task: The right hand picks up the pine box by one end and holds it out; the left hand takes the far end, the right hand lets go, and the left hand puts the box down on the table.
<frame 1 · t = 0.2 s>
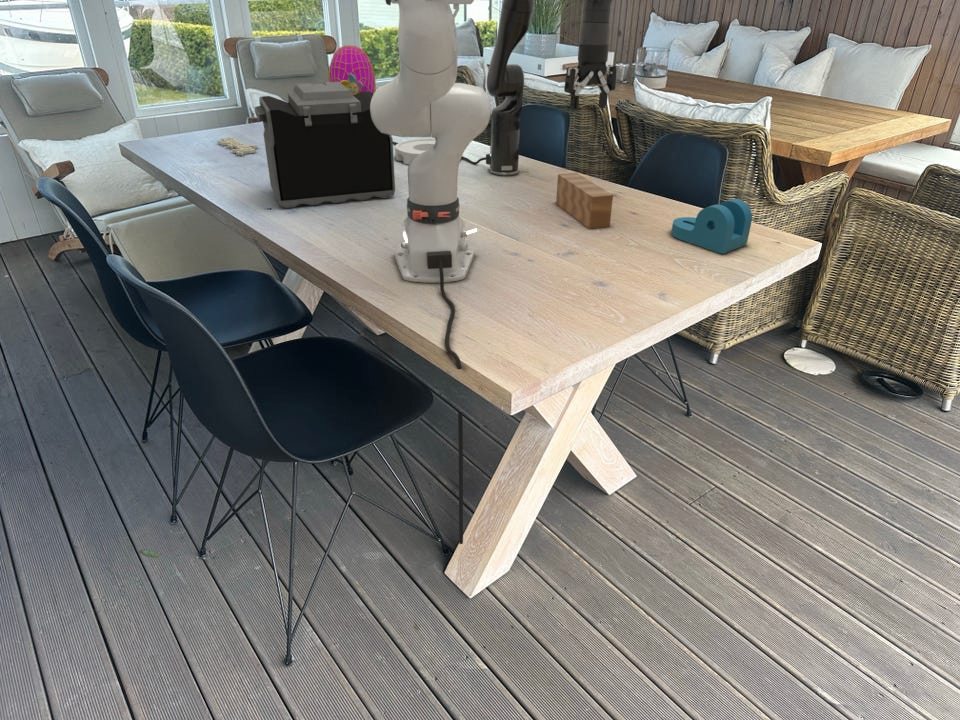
left hand: (432, 25, 166), 48 cm above the table, tool pointing down, fingers open, 8 cm apart
right hand: (588, 109, 181), 28 cm above the table, tool pointing down, fingers open, 8 cm apart
ashtray: (428, 158, 244), on the table
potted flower: (358, 143, 262), on the table
box: (581, 214, 192), on the table
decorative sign: (239, 147, 254), on the table
electronic device: (332, 193, 206), on the table
decorative egg: (355, 123, 293), on the table
camera mount: (703, 239, 176), on the table
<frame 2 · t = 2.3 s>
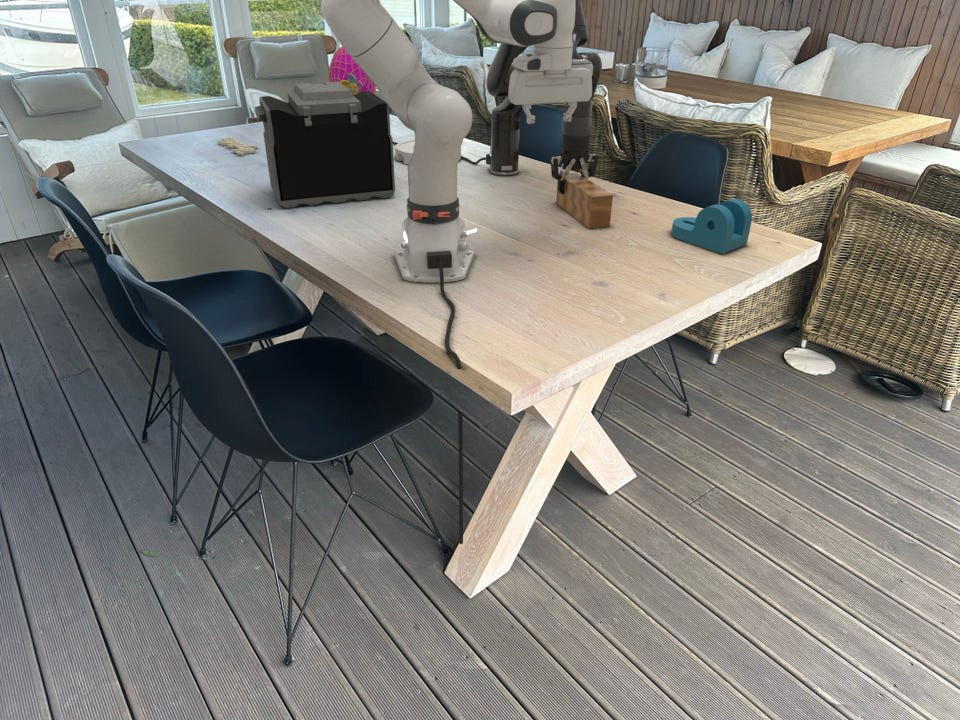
left hand: (548, 122, 165), 28 cm above the table, tool pointing down, fingers open, 8 cm apart
right hand: (571, 192, 196), 4 cm above the table, tool pointing down, fingers closed on box, 6 cm apart
box: (581, 214, 192), on the table, touching right hand
everything else where it was.
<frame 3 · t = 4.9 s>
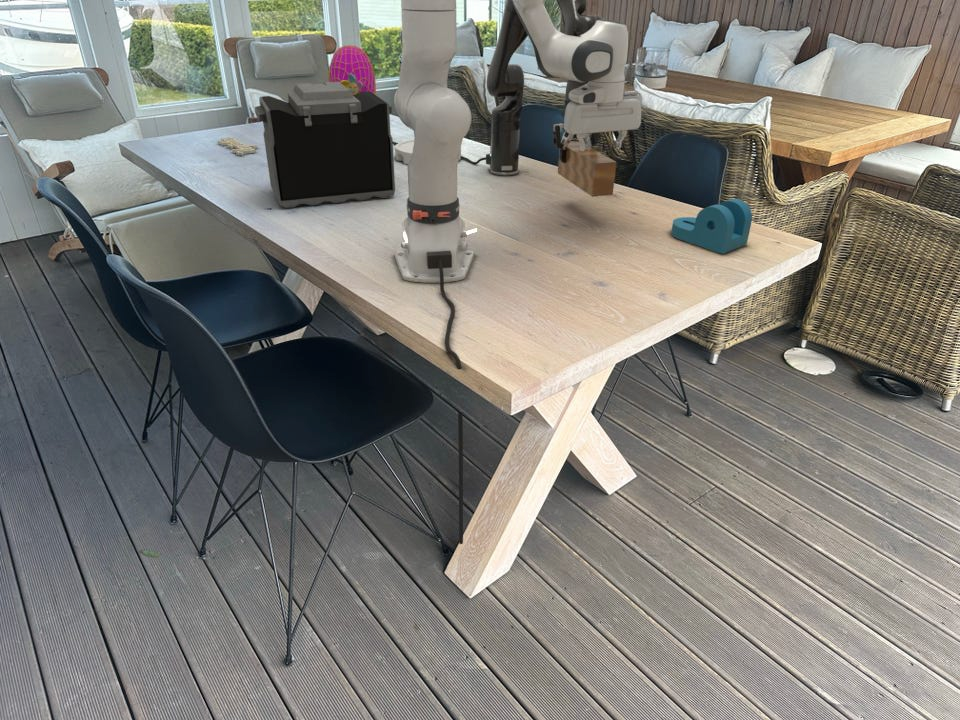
left hand: (600, 149, 176), 20 cm above the table, tool pointing down, fingers open, 8 cm apart
right hand: (574, 161, 192), 13 cm above the table, tool pointing down, fingers closed on box, 6 cm apart
box: (583, 183, 188), point 9 cm above the table, touching right hand
everything else where it was.
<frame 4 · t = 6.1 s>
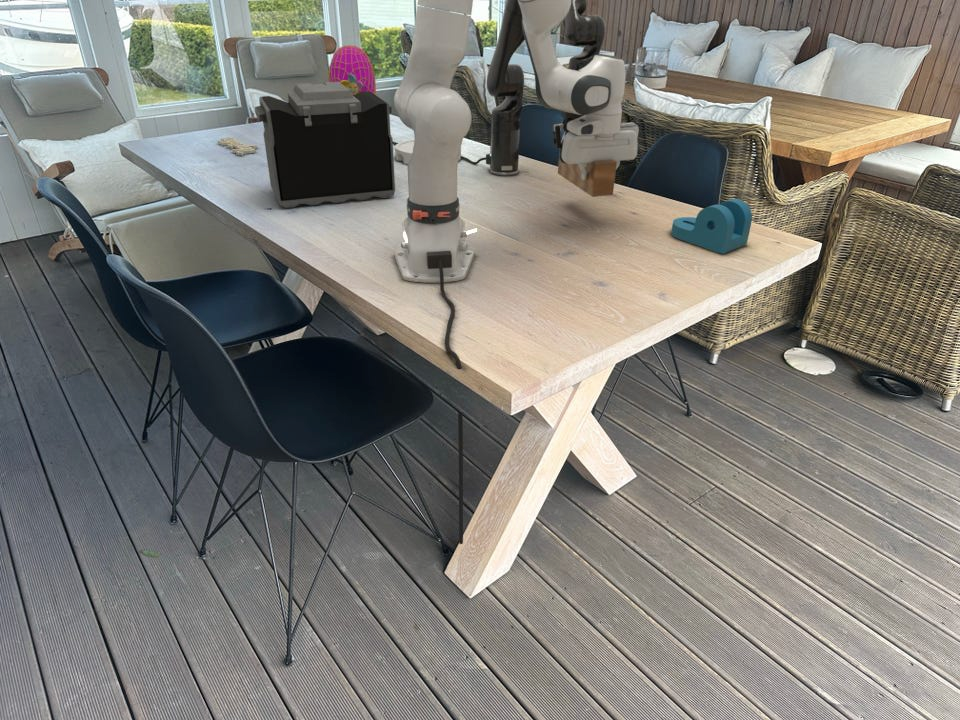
left hand: (597, 178, 180), 12 cm above the table, tool pointing down, fingers closed on box, 6 cm apart
right hand: (574, 161, 192), 13 cm above the table, tool pointing down, fingers closed on box, 6 cm apart
box: (584, 183, 188), point 9 cm above the table, touching left hand, right hand
everything else where it was.
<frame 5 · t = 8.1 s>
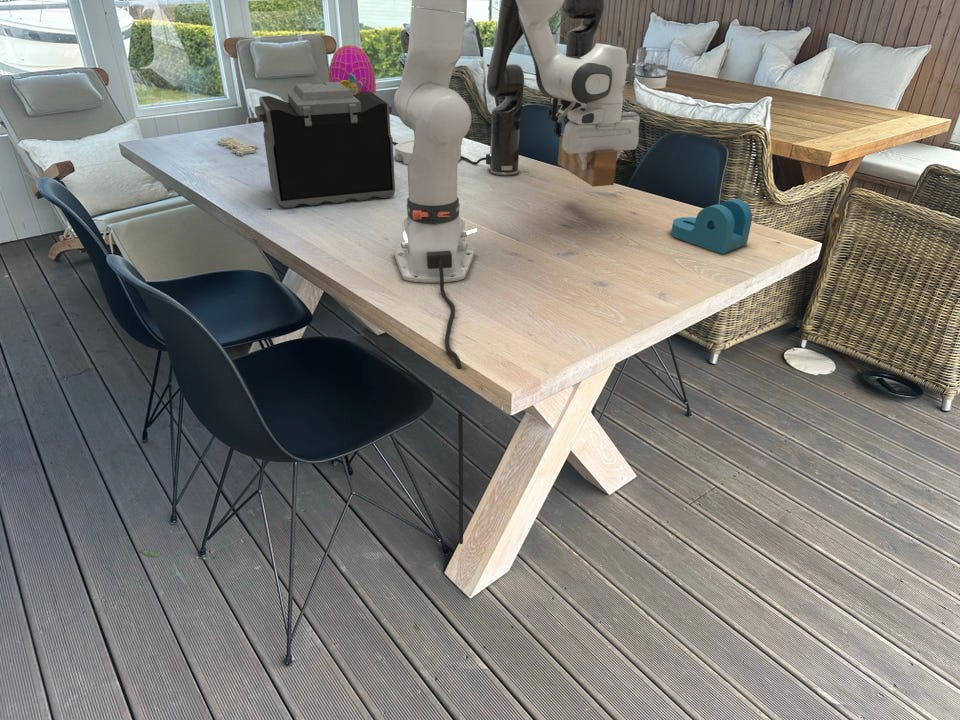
left hand: (598, 168, 179), 15 cm above the table, tool pointing down, fingers closed on box, 6 cm apart
right hand: (571, 135, 191), 20 cm above the table, tool pointing down, fingers open, 8 cm apart
box: (584, 174, 187), point 11 cm above the table, touching left hand
everything else where it was.
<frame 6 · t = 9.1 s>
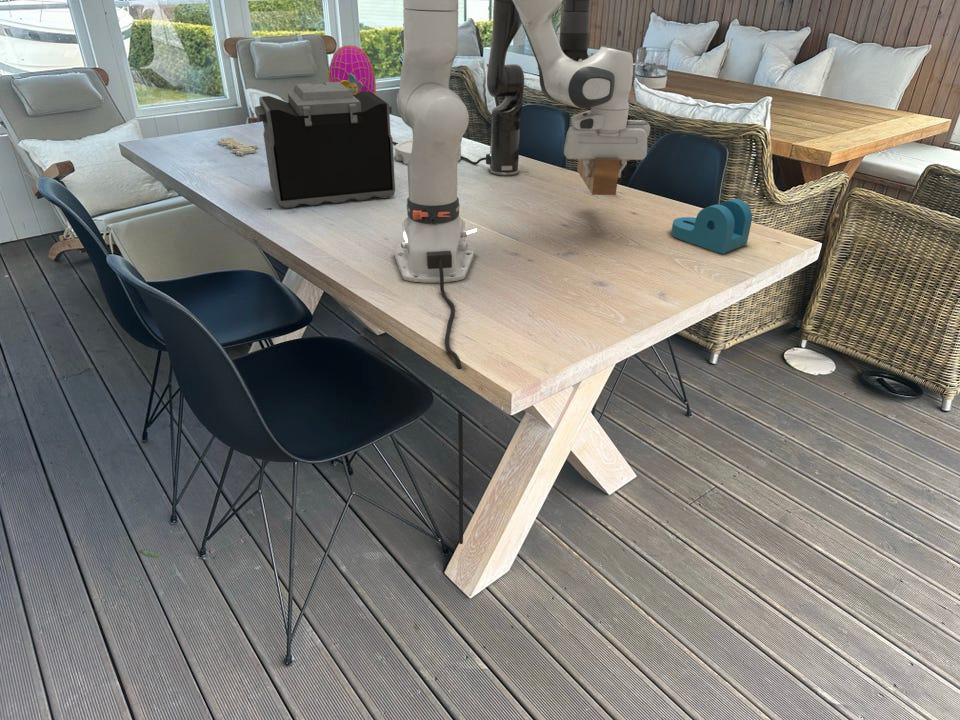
left hand: (602, 176, 172), 15 cm above the table, tool pointing down, fingers closed on box, 6 cm apart
right hand: (570, 95, 188), 29 cm above the table, tool pointing down, fingers open, 8 cm apart
box: (595, 182, 180), point 11 cm above the table, touching left hand
everything else where it was.
when the left hand's fingers open (5 cm above the table, at t = 12.2 s): box drops 1 cm, on the table.
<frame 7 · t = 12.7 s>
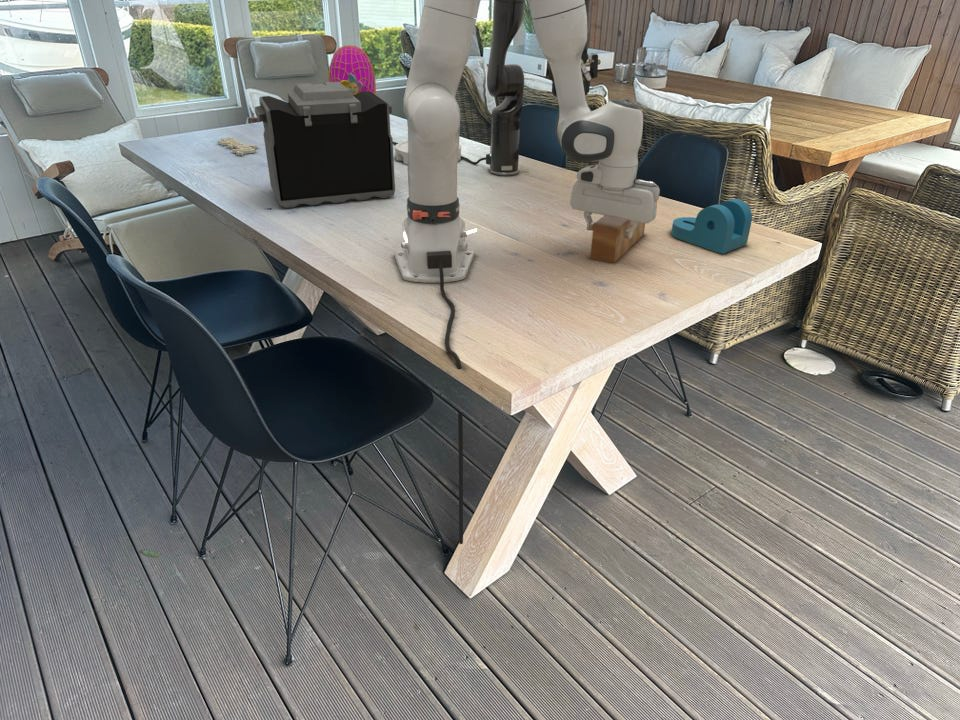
left hand: (609, 233, 163), 6 cm above the table, tool pointing down, fingers open, 8 cm apart
right hand: (570, 95, 188), 29 cm above the table, tool pointing down, fingers open, 8 cm apart
box: (618, 246, 172), on the table
everything else where it was.
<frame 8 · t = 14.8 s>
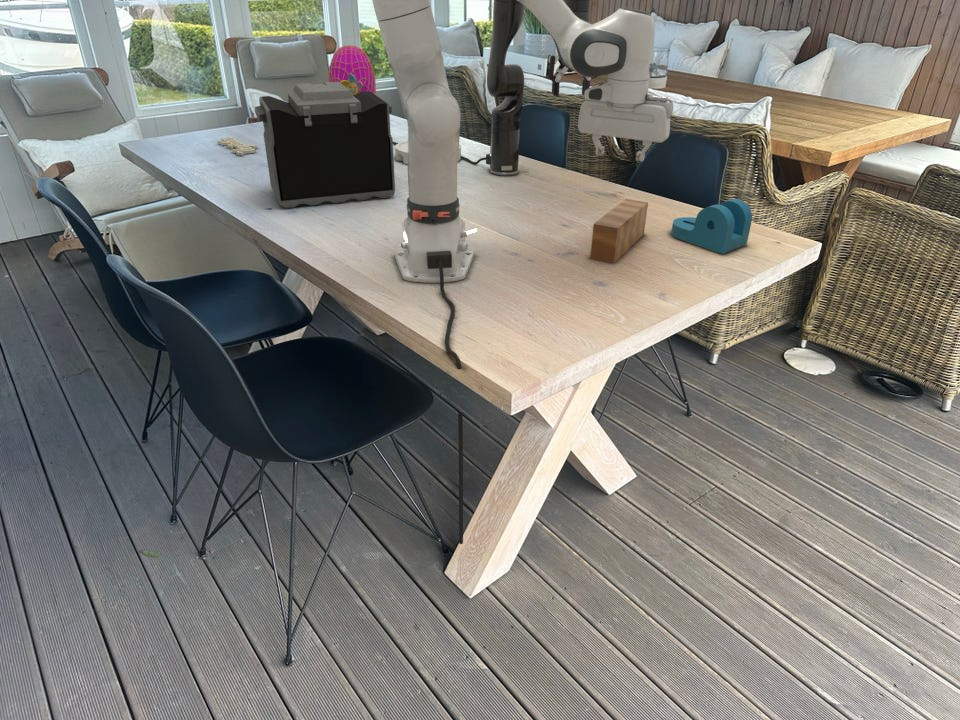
left hand: (619, 157, 154), 23 cm above the table, tool pointing down, fingers open, 8 cm apart
right hand: (570, 95, 188), 29 cm above the table, tool pointing down, fingers open, 8 cm apart
nothing on the table moved.
at the end: box inside the target area (7.1 cm from its centre), on the table; the left hand is holding nothing; the right hand is holding nothing; box at rest at the end (0.0 cm/s) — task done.
